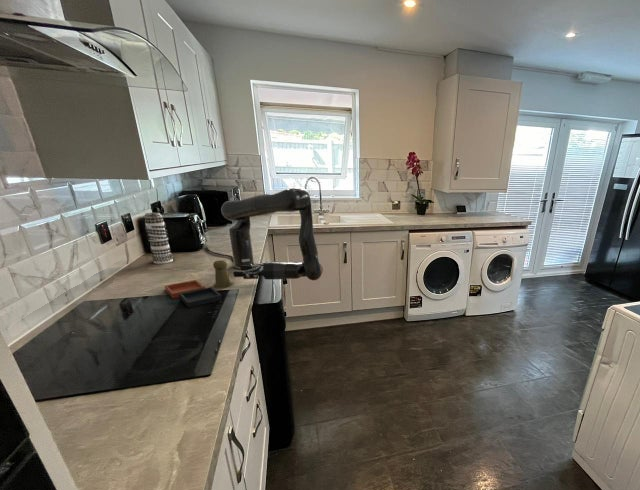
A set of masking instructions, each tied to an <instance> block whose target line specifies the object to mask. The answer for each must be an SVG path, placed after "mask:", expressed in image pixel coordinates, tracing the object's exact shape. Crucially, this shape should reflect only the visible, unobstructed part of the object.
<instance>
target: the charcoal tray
mask: <svg viewBox="0 0 640 490" xmlns="http://www.w3.org/2000/svg"><path fill="white" fill-rule="evenodd" d="M179 296H180V297H179V299H180V300H181V301H182V302H183V303H184V304H185V305H186V306H187V307H188V309H190V308H194V307H197V306H203V305H207V304H209V303H214V302H218V301H222V300H223V296H222V294H221V293H219V292H218V291H217V290H216V289H215V288H213V286H209V287H205V288H204V289H199V290H194V291H190V292H185V293H180V294H179Z"/></svg>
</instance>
